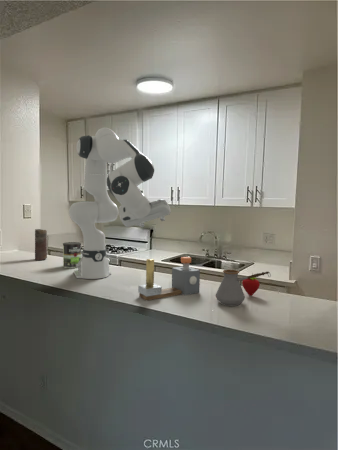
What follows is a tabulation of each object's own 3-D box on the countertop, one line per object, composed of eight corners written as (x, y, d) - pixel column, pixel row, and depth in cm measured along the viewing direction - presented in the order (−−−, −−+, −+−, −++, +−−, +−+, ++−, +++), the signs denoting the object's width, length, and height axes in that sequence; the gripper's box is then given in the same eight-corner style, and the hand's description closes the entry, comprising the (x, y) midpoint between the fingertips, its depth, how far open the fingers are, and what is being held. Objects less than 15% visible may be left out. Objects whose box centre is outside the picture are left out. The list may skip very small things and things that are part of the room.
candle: (39, 258, 210) (39, 228, 208) (49, 258, 208) (49, 229, 207) (32, 260, 202) (32, 229, 201) (43, 260, 201) (42, 230, 199)
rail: (139, 296, 130) (139, 293, 130) (173, 290, 140) (173, 287, 140) (146, 300, 125) (146, 296, 125) (181, 294, 135) (181, 290, 135)
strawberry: (244, 292, 139) (245, 270, 138) (261, 295, 135) (262, 273, 134) (239, 295, 134) (240, 272, 133) (256, 299, 130) (257, 275, 129)
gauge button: (178, 281, 140) (178, 257, 139) (186, 280, 142) (187, 256, 142) (184, 284, 136) (185, 259, 135) (192, 282, 139) (193, 258, 138)
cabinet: (171, 289, 142) (172, 267, 141) (185, 287, 146) (186, 266, 145) (185, 295, 133) (186, 272, 132) (200, 292, 137) (200, 270, 136)
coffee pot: (210, 303, 123) (211, 266, 122) (223, 296, 132) (224, 261, 131) (263, 316, 110) (264, 274, 109) (273, 307, 119) (275, 269, 118)
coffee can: (83, 267, 185) (83, 243, 184) (66, 269, 179) (66, 244, 178) (76, 264, 193) (76, 241, 192) (60, 266, 187) (60, 242, 186)
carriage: (138, 292, 130) (138, 259, 129) (152, 289, 134) (153, 257, 133) (146, 296, 124) (147, 261, 123) (161, 293, 128) (162, 260, 127)
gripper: (162, 191, 120) (174, 209, 131) (115, 207, 125) (131, 223, 136) (164, 205, 117) (177, 221, 128) (116, 221, 122) (132, 235, 133)
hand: (153, 222), depth 132 cm, fingers open, 8 cm apart
